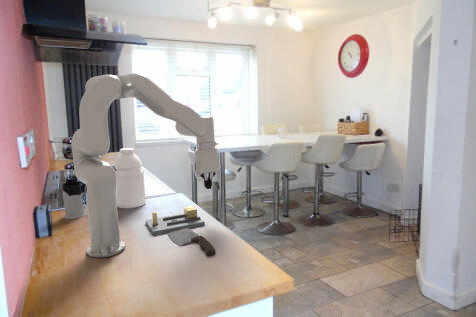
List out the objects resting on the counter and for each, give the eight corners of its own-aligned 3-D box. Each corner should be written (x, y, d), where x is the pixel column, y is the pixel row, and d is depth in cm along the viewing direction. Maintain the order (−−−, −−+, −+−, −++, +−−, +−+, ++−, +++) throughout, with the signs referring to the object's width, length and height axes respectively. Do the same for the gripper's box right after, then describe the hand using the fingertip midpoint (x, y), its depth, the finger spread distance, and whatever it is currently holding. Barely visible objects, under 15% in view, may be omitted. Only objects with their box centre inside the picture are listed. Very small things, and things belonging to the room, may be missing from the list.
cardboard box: (197, 218, 146) (196, 208, 145) (188, 220, 144) (187, 210, 144) (193, 214, 150) (192, 205, 150) (184, 216, 149) (183, 207, 148)
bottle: (130, 199, 183) (126, 146, 178) (151, 202, 177) (147, 147, 172) (110, 207, 170) (105, 150, 165) (132, 210, 164) (127, 151, 159)
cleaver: (222, 253, 117) (221, 247, 117) (195, 261, 112) (195, 255, 112) (185, 228, 142) (184, 223, 141) (162, 234, 137) (161, 228, 136)
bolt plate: (204, 225, 143) (204, 209, 142) (153, 235, 134) (152, 219, 133) (193, 215, 155) (192, 201, 154) (145, 223, 146) (144, 208, 145)
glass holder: (62, 215, 160) (58, 183, 157) (94, 208, 169) (90, 178, 166) (67, 220, 153) (63, 187, 150) (100, 212, 162) (97, 181, 159)
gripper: (218, 142, 152) (220, 183, 156) (185, 146, 146) (188, 189, 149) (225, 145, 145) (227, 187, 149) (191, 149, 139) (194, 193, 143)
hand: (208, 188), depth 149 cm, fingers closed
